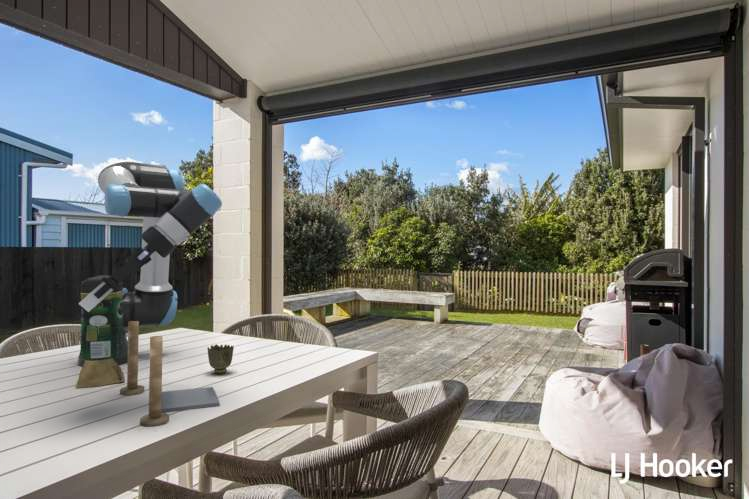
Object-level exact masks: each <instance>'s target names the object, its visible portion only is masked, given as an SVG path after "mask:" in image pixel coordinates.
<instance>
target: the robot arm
mask: <svg viewBox="0 0 749 499" xmlns="http://www.w3.org/2000/svg"><path fill="white" fill-rule="evenodd" d="M97 183H98V186H99V188H100V190H101V192H102V193H103V194H104V210H105V212H106V214H107V215H110V216H118V217H134V218H135V217H137V218H138V217H139V218H140V217H141V218H143V220H142V221H143V222H142V233H141V234H140V238H141V241H142V242H141V245H142V246H141V247H137V248H136V249H135V250H134V251H133V252H132V253H131V255H130V256H128V258H126V259H125V263H124V264H123V265H121V266H120V267H119V268H117V270H115V272H113V273H112V274H111V275H110V277H108V278H107V279H106V278H105V277H103V278H102V279H101V280H102V281H103V282H102V283H101V284H100V285H99V286H98V287H97V288H95V289H94V290H93V291H92V292H91V293H90V294H89V295H87V296H86V297H85V298H84V299H83V300H82V301H81V300H80V301H79V302H78V305H79V306H80V307H81V306H82V307H83V308H84V309H85V310H86V311H88V312H89V311H90V310H92V309H93V308H94V307H95V306H96V305H97V304H98V303H99V302H101V301H102V300H103V299H104V298H105V297H106V296H107V295H108V294H110V293H111V292H112V291H113V289H115V288H116V287H118V285H119V284H120V283H121V282H122V281H124V280H125V279H127V278H128V277H129V276H130V275H132V273H133V272H135V271H139V270H140V276H139V277H140V278H139V282H138V283H137V284H136V285H134V291H131V292H130V291H129V290H128V289H127V288H126V287H123V351H122V353H121V354H120V355H119V356H118V357H116V358H113V360H114V361H115V362H116V363H117V364H118V365H122V364H125V363H128V336H127V329H128V322H130V321H139V328H140V327H154V326H155V327H158V326H163V325H164V326H165V325H169V324H170V323H172V321H173V320H174V319H175V316H176V314H177V309H178V294H177V291H176V290H173V285H171V284H170V282H169V273H170V258H171V256H170V255H171V253H172V252H173V251H174V250H175V248H176V247H175V246H180V244H182V243H183V241H185V242H188V241H189V236H190V235H192V234H193V233H194V232H196V231H197V229H199V228H200V227H201V226H202V225H203V224H204V223H205V222H207V221H208V220H209V219H210V218H211V217H212V216H214V215H215V214H216V212H218V211H219V210H220V209H221V207H222V206H223V203H222V200H221V199H220V197H219V195H218V194H217V193H216V192H215V191H214V190H213V189H212V188H211V187H209V186H208V185H207V184H206V183H199V184H198V185H197V186H195V187H193V188H192V189H191V190H190V189H185V184H184V178H183V175H182V173H181V170H180V169H178V168H177V167H175V166H171V165H166V164H164V165H163V164H151V163H144V162H135V161H120V162H116V163H112V164H109V165H107V166H105V167H104V168H103V169H102V170H101V171H100V173H99V174H98V176H97ZM84 362H85V360H82V359H81V357H80V353H78V356H77V364H78V365H79V366H80V367H81V366H82V367H83V365H84Z"/></svg>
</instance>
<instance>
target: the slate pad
mask: <svg viewBox="0 0 749 499" xmlns="http://www.w3.org/2000/svg"><path fill="white" fill-rule="evenodd" d="M220 406H221V403H220V400H219V398H218V396H217V394H216V391H215V389H214V387H213V386H207V387H206V386H205V387H197V388H196V387H195V388H188V389H187V388H186V389H178V390H177V389H176V390H167V391H166V390H165V391H162V395H161V413H168V412H169V413H170V412H177V411H187V410H195V409H203V408H204V409H205V408H211V407H220Z"/></svg>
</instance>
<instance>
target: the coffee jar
mask: <svg viewBox="0 0 749 499" xmlns="http://www.w3.org/2000/svg"><path fill="white" fill-rule="evenodd" d="M110 276H111V275H110V274H109V275H108V274H107V275H105V274H103V275H100V274H99V275H97V276H92V277H88V278H87V279H84V280H83V281H81V283H80V302H81V301H82V300H83V299H84V298H85V297H86V296H87V295H89V294H90V293H91V292H92V291H93V290H94V289H95V288H97V287H98V286H99V285H100V284H101V283H102V282H103V281H102V280H101V279H102V278H103V277H105V278H106V279H107V278H108V277H110ZM123 281H124V280H123ZM123 281H122V282H121V283H120V284H119V285H118V287H116V288H115V289H113V291H112V292H111V293H110V294H108V295H107V296H106V297H105V298H104V299H103V300H102V301H101V302H99V303H98V304H97V305H96V306H95V307H94V308H93V309H92V310H90V311H89V312H88V311H86V310H85V309H84V308H83V307H82V306H80V309H81V310H80V311H81V312H80V315H81V316H80V317H81V320H80V322H81V323H80V328H81V329H80V351H79V354H80V357H81V359H82V360H89V361H102V360H105V359H113V358H116V357H118V356H119V355H120V354H121V353H122V351H123V288H124V282H123Z"/></svg>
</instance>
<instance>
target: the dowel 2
mask: <svg viewBox="0 0 749 499" xmlns="http://www.w3.org/2000/svg"><path fill="white" fill-rule="evenodd" d="M163 339H164V338H163V336H162V335H154V336H150V338H149V375H148V376H149V380H148V381H149V384H148V413H147V414H144V415H143V416H141V417H140V420H139V424H140V426H142V427H148V428H149V427H151V428H152V427H157V426H162V425H165V424H167V423H169V421H170V414H169V413H168V412H163V413H161V395H162V392H163V391H162V390H163V389H162V388H163V387H162V385H163V383H162V382H163V378H162V377H163Z"/></svg>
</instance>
